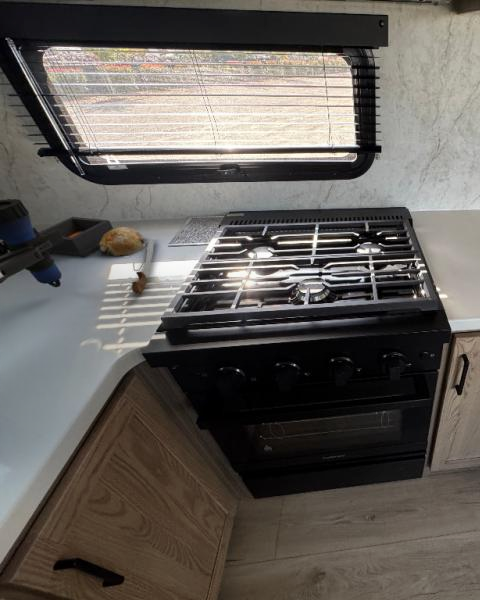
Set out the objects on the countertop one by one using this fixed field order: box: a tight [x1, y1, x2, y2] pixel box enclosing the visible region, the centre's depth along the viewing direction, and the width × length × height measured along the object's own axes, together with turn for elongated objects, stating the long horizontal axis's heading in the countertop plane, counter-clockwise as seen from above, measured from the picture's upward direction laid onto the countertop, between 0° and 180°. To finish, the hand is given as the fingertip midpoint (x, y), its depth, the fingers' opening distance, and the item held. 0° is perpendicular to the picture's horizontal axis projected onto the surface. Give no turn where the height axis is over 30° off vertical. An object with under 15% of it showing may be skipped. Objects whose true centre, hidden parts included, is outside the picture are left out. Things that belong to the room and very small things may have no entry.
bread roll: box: [99, 226, 146, 257], centre depth 99 cm, size 10×10×8 cm
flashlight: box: [0, 198, 63, 288], centre depth 75 cm, size 8×8×20 cm
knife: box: [131, 239, 155, 294], centre depth 91 cm, size 4×1×30 cm
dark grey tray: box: [38, 216, 114, 258], centre depth 100 cm, size 15×13×6 cm
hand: (48, 234), depth 78 cm, fingers closed on flashlight, 5 cm apart
